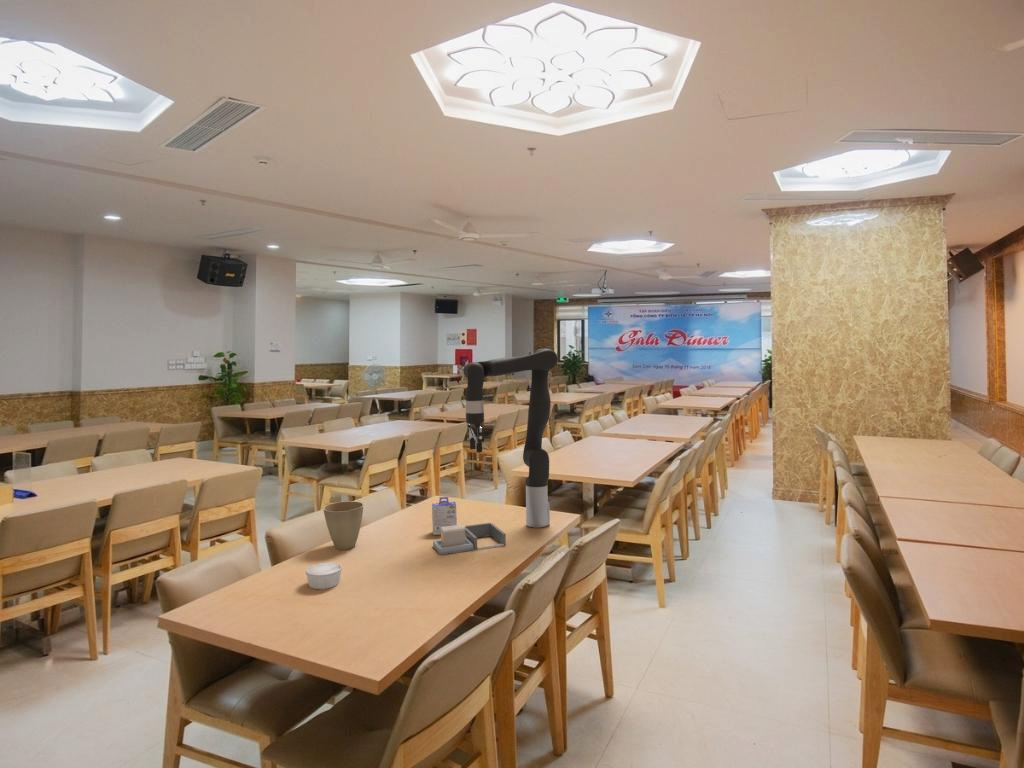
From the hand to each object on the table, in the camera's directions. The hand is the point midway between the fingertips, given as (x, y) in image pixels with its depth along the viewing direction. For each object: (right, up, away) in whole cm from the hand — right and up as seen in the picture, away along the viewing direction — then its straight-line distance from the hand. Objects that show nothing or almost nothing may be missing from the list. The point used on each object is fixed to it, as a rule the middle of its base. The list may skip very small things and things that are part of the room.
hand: (475, 450), depth 241 cm
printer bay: (+4, -34, -12) cm, 37 cm away
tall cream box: (-8, -34, -18) cm, 39 cm away
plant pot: (-50, -36, -15) cm, 63 cm away
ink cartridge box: (-13, -34, +1) cm, 37 cm away
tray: (-8, -35, -18) cm, 40 cm away
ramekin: (-46, -38, -51) cm, 78 cm away
